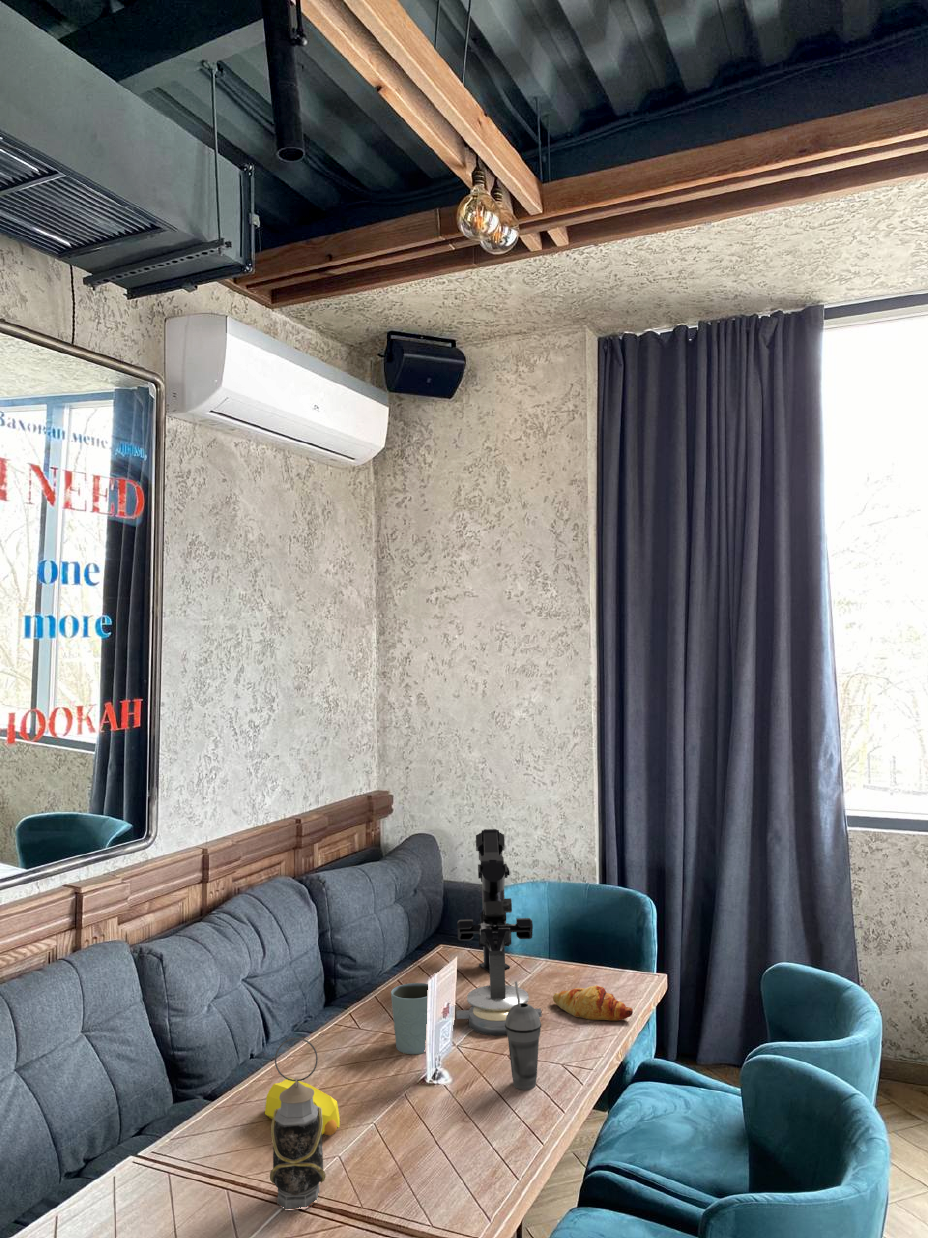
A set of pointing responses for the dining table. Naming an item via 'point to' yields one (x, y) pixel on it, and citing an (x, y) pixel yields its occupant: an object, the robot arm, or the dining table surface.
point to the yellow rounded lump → (319, 1099)
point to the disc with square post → (496, 988)
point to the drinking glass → (410, 1017)
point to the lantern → (297, 1144)
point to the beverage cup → (523, 1043)
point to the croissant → (592, 1004)
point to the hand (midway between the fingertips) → (496, 961)
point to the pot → (487, 1020)
